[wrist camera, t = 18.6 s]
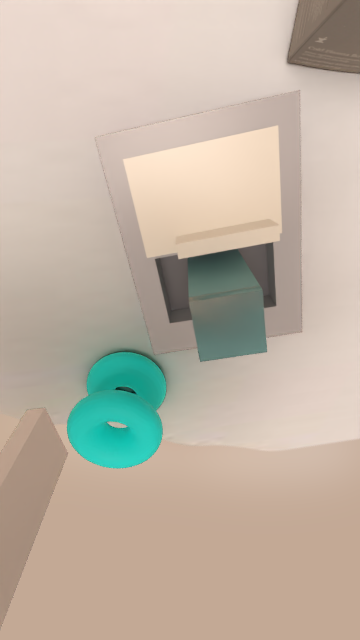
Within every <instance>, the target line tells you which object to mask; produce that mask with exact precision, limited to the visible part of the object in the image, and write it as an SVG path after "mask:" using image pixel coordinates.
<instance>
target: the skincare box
mask: <svg viewBox="0 0 360 640" xmlns="http://www.w3.org/2000/svg"><path fill="white" fill-rule="evenodd" d="M288 62H289V63H295V64H300V65H305V66H311V67H317V68H323V69H330V70H337V71H345V72H355V73H360V0H300V1H299V6H298V11H297V16H296V21H295V25H294V30H293V35H292V41H291V46H290V51H289V56H288Z"/></svg>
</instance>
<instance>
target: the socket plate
mask: <svg viewBox="0 0 360 640" xmlns="http://www.w3.org/2000/svg"><path fill="white" fill-rule="evenodd" d="M277 125H278V131H279V159H280V187H281V215H282V233H280V241H276V242H271V243H265V244H260V245H254V246H249V247H243V248H238V251H239V252H240V254H241V256H242V257H243V259H244V260H245V262H246V264H247V265H248V267H249V269H250V270H251V272H252V273H253V275H254V277H255V278H256V280H257V282H258V283H259V285H260V286H261V288H262V290H263V303H264V317H265V331H266V338H267V337H273V336H280V335H287V334H293V333H300V332H302V272H301V146H300V90H298V91H293V92H289V93H285V94H280V95H276V96H272V97H267V98H263V99H259V100H254V101H250V102H246V103H241V104H237V105H233V106H228V107H224V108H219V109H215V110H211V111H206V112H202V113H198V114H193V115H189V116H185V117H180V118H176V119H172V120H167V121H163V122H158V123H154V124H150V125H145V126H141V127H137V128H132V129H128V130H124V131H119V132H115V133H111V134H106V135H102V136H98V137H95V141H96V144H97V148H98V152H99V155H100V159H101V163H102V166H103V170H104V174H105V177H106V181H107V184H108V188H109V192H110V195H111V199H112V203H113V206H114V210H115V214H116V217H117V221H118V225H119V228H120V232H121V236H122V239H123V243H124V247H125V250H126V254H127V258H128V261H129V265H130V269H131V272H132V276H133V280H134V283H135V287H136V290H137V294H138V298H139V301H140V305H141V309H142V312H143V316H144V320H145V323H146V327H147V331H148V334H149V338H150V342H151V345H152V349H153V353H154V355H155V354H162V353H168V352H175V351H181V350H188V349H194V348H197V342H196V337H195V332H194V327H193V322H192V316H191V311H190V306H189V293H188V258H183V259H178V254H177V253H172V254H166V255H161V256H156V257H150V258H147V256H146V252H145V248H144V244H143V240H142V236H141V232H140V228H139V224H138V220H137V216H136V211H135V207H134V203H133V199H132V195H131V191H130V187H129V183H128V179H127V175H126V170H125V166H124V162H123V159H127V158H131V157H136V156H140V155H145V154H150V153H154V152H159V151H163V150H168V149H172V148H177V147H181V146H186V145H190V144H195V143H200V142H204V141H209V140H213V139H218V138H222V137H227V136H231V135H236V134H240V133H245V132H250V131H254V130H259V129H263V128H268V127H272V126H277Z"/></svg>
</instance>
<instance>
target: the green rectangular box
mask: <svg viewBox="0 0 360 640" xmlns="http://www.w3.org/2000/svg"><path fill="white" fill-rule="evenodd" d="M188 293H189V306H190V311H191V316H192V322H193V327H194V332H195V337H196V342H197V348H198V353H199V358H200V362H202V361H209V360H215V359H222V358H229V357H236V356H243V355H249V354H256V353H263V352H267V345H266V331H265V317H264V303H263V290H262V288H261V286H260V285H259V283H258V282H257V280H256V278H255V277H254V275H253V273H252V272H251V270H250V269H249V267H248V265H247V264H246V262H245V260H244V259H243V257H242V256H241V254H240V252H239V251H238V249H232V250H227V251H221V252H216V253H210V254H205V255H199V256H194V257H188Z"/></svg>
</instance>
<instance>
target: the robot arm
mask: <svg viewBox="0 0 360 640" xmlns="http://www.w3.org/2000/svg"><path fill="white" fill-rule="evenodd" d="M67 455H68V452H67V450H66V448H65V446H64V444H63V442H62V440H61V438H60V437H59V435H58V433H57V431H56V429H55V427H54V425H53V423H52V421H51V419H50V417H49V415H48V413H47V411H46V409H45V407H44V408H37V409H30V410H27V411H26V412H25V414H24V415H23V417H22V419H21V420H20V422H19V424H18V425H17V427H16V428H15V430H14V432H13V433H12V435H11V437H10V438H9V440H8V441H7V443H6V445H5V446H4V448H3V449H2V451H1V453H0V629H1V626H2V624H3V621H4V618H5V616H6V613H7V611H8V608H9V606H10V603H11V600H12V598H13V595H14V592H15V590H16V587H17V585H18V582H19V579H20V577H21V574H22V571H23V569H24V566H25V564H26V561H27V559H28V556H29V553H30V551H31V548H32V546H33V543H34V540H35V538H36V535H37V533H38V530H39V527H40V525H41V522H42V520H43V517H44V515H45V512H46V509H47V507H48V504H49V501H50V499H51V496H52V494H53V491H54V489H55V486H56V483H57V481H58V478H59V476H60V473H61V470H62V468H63V465H64V463H65V460H66V457H67Z"/></svg>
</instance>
